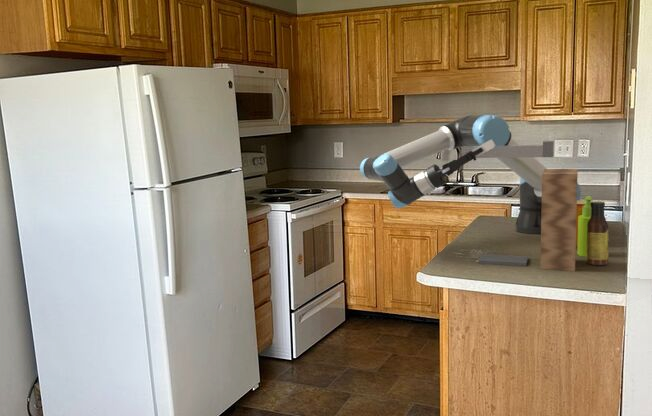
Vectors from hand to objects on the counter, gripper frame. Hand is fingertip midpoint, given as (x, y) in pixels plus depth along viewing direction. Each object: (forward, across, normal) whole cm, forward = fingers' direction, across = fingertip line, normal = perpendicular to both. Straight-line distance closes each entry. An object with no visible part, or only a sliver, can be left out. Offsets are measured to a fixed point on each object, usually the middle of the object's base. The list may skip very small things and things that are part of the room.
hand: (492, 143), depth 195 cm
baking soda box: (+4, -31, -48) cm, 57 cm away
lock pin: (+2, 0, -6) cm, 6 cm away
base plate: (-17, -1, -36) cm, 39 cm away
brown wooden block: (-2, -1, -44) cm, 44 cm away
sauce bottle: (+8, -5, -50) cm, 51 cm away
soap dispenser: (+5, -16, -48) cm, 51 cm away
